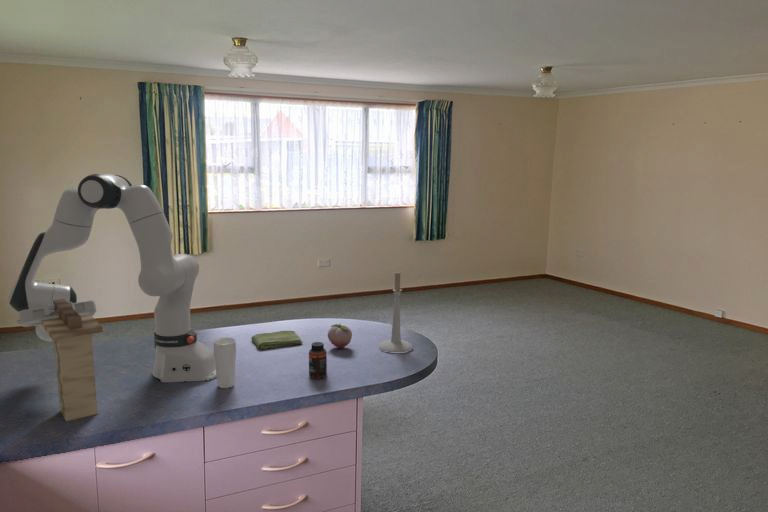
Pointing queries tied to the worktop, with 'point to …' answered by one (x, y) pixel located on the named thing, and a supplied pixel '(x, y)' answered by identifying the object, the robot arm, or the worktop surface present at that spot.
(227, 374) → the drinking glass
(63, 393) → the stand
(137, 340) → the worktop surface
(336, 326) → the decorative fruit
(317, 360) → the supplement bottle
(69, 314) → the block
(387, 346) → the candlestick
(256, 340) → the washcloth
